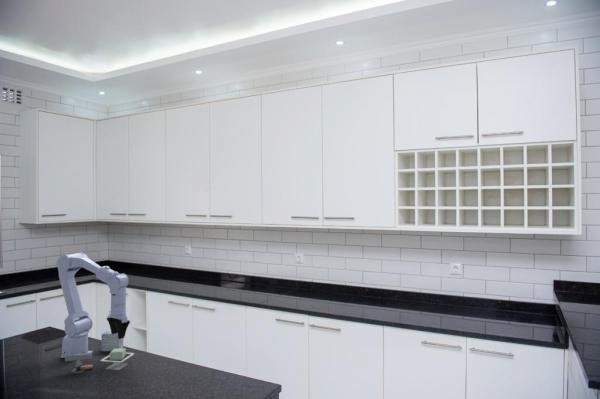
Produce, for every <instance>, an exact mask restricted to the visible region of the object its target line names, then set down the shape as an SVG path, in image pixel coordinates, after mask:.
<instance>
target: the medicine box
mask: <svg viewBox="0 0 600 399" xmlns="http://www.w3.org/2000/svg"><path fill="white" fill-rule="evenodd" d="M117 348H124V338H121V339H119V338H118V333H116V334H112V333H111V330H107V331H106V330H105V331H104V332H103V333H101V352H111V351H112V350H113V349H117Z"/></svg>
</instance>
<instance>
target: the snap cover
mask: <svg viewBox="0 0 600 399" xmlns="http://www.w3.org/2000/svg"><path fill="white" fill-rule="evenodd" d="M126 349H127V348H125V347H123V348H117V349H113V350H112V351H110V353H109V355H110V357H109V359H108V360H111V361H122V360H123V359H125V358H126V357H125V356H126V355H127V354H126V353H127V350H126Z"/></svg>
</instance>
